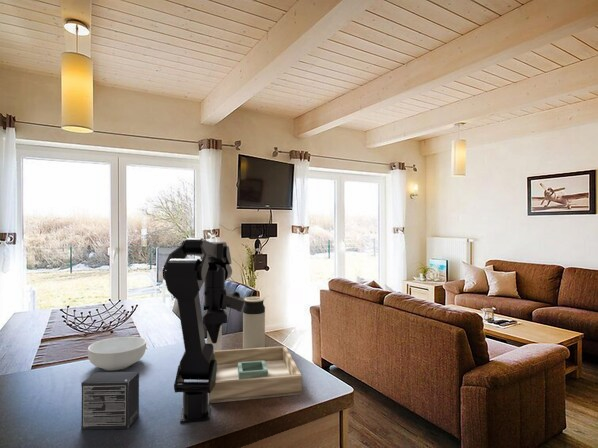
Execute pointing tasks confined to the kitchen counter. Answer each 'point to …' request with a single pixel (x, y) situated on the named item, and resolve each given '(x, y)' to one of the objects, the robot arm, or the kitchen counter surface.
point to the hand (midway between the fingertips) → (214, 340)
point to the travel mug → (253, 323)
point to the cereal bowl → (116, 352)
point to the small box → (110, 400)
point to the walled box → (255, 374)
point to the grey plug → (219, 341)
